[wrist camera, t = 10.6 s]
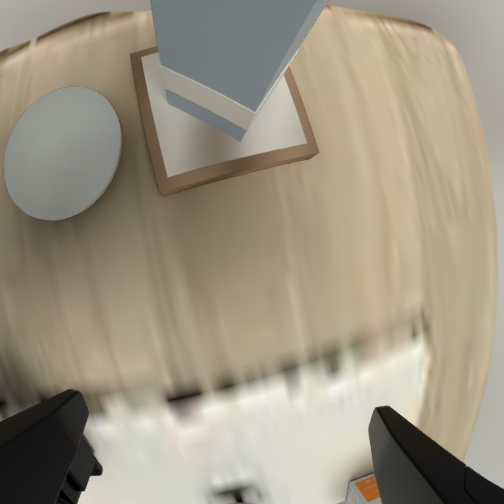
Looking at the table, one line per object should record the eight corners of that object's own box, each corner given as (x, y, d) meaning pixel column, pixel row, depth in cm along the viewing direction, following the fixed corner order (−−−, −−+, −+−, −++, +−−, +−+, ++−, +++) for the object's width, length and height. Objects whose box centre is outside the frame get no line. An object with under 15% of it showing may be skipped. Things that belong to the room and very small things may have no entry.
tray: (162, 196, 19) (158, 192, 17) (134, 66, 18) (129, 52, 16) (309, 158, 20) (320, 151, 18) (267, 40, 19) (273, 25, 17)
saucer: (25, 238, 17) (14, 238, 15) (11, 124, 16) (1, 118, 14) (138, 196, 18) (133, 192, 17) (115, 78, 17) (109, 67, 16)
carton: (240, 143, 17) (319, 0, 5) (167, 104, 16) (140, -61, 4) (276, 86, 17) (369, -55, 5) (207, 51, 17) (231, -109, 4)
